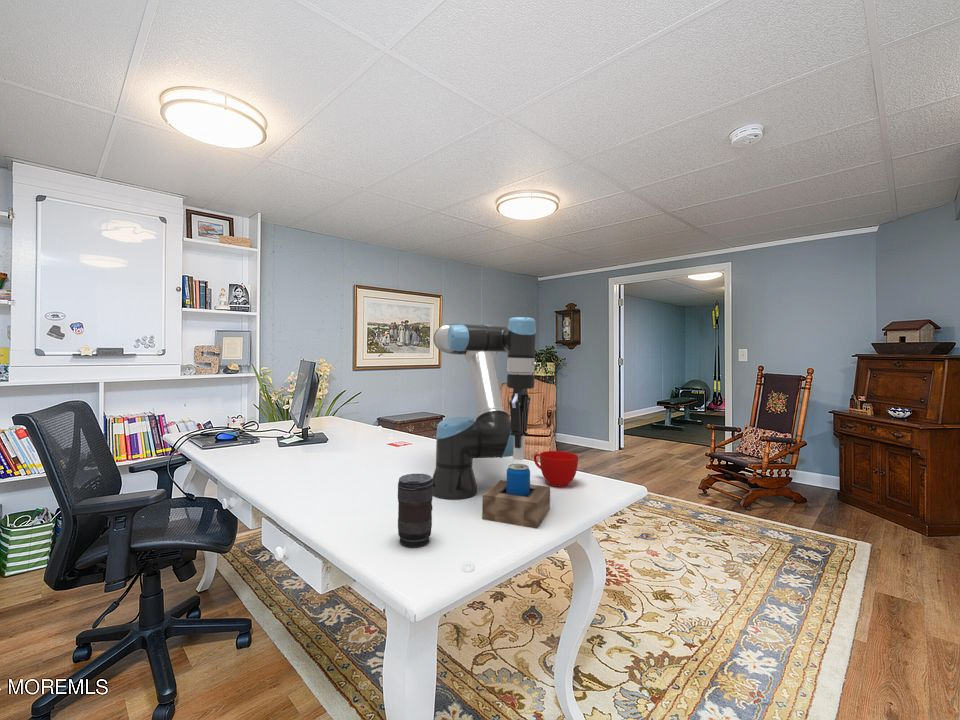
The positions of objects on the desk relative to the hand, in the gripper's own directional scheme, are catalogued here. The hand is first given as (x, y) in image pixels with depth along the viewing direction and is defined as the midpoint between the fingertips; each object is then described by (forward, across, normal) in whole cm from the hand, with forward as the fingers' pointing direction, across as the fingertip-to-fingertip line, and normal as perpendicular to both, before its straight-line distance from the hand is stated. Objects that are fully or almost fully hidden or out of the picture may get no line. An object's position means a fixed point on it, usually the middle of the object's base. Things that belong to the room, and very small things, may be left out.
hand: (518, 458), depth 121 cm
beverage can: (+14, 0, 0) cm, 14 cm away
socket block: (+15, 0, 0) cm, 15 cm away
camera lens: (+16, -27, +17) cm, 35 cm away
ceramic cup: (+16, +34, -3) cm, 38 cm away
